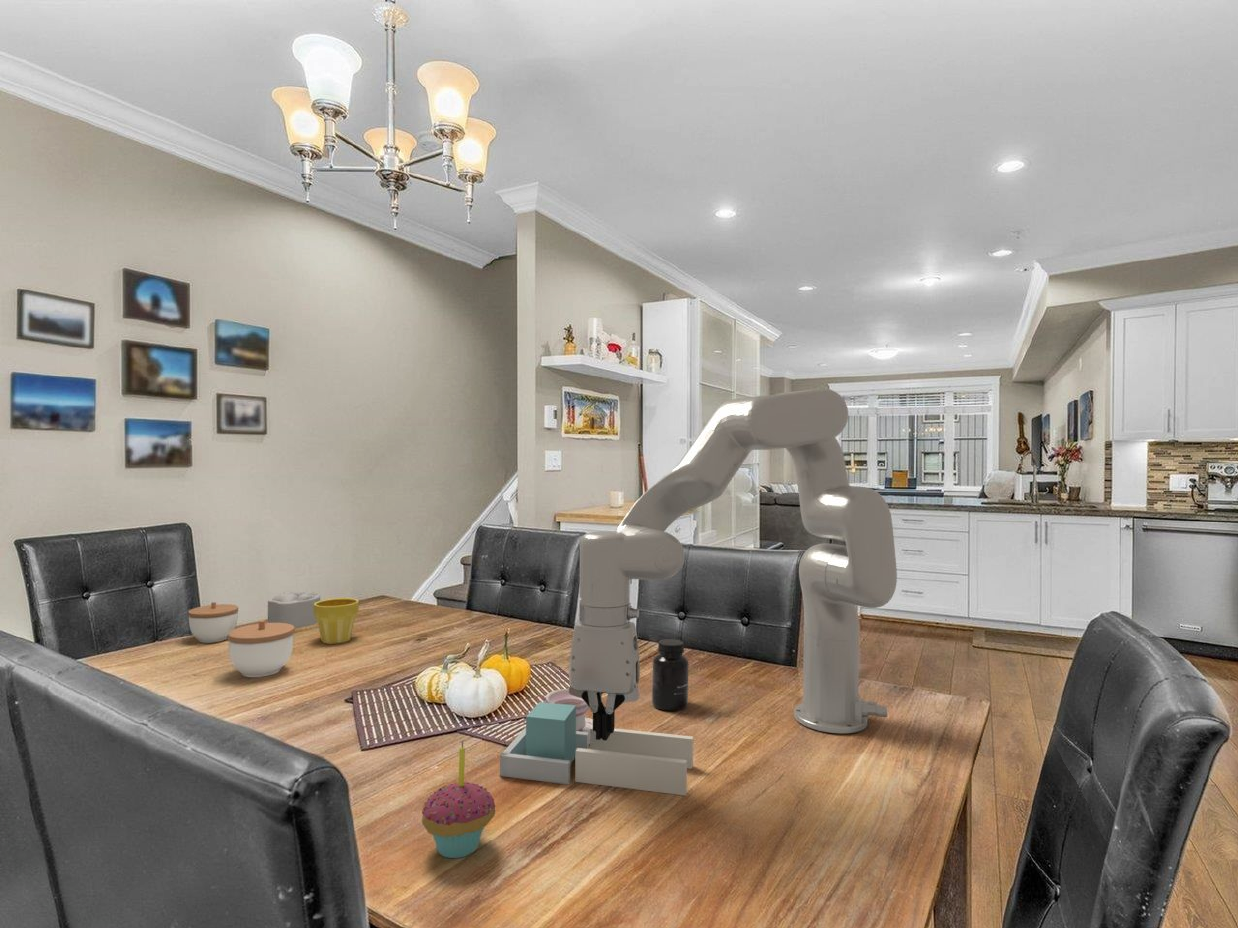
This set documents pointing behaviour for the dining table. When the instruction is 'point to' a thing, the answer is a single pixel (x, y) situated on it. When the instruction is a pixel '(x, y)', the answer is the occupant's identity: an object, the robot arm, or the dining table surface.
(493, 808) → the cupcake
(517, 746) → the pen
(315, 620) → the grey lumpy-topped box
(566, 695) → the teacup
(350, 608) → the plant pot
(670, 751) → the channel
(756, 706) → the dining table surface
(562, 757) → the block
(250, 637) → the lidded bowl
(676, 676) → the supplement bottle
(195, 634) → the lidded jar
